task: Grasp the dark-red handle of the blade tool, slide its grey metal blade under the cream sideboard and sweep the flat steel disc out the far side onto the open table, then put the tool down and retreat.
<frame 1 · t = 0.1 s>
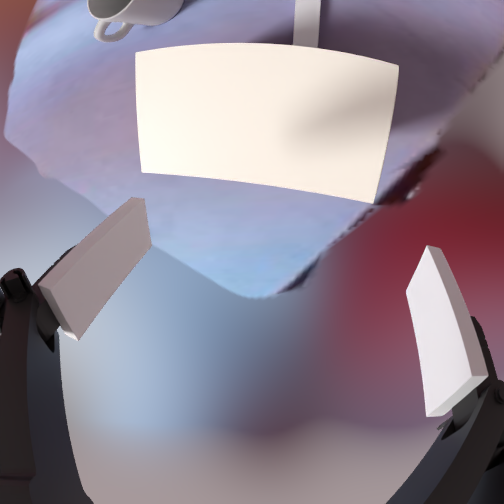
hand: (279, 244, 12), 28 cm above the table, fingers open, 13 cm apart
mug: (152, 10, 27), on the table
cabinet: (286, 95, 33), on the table
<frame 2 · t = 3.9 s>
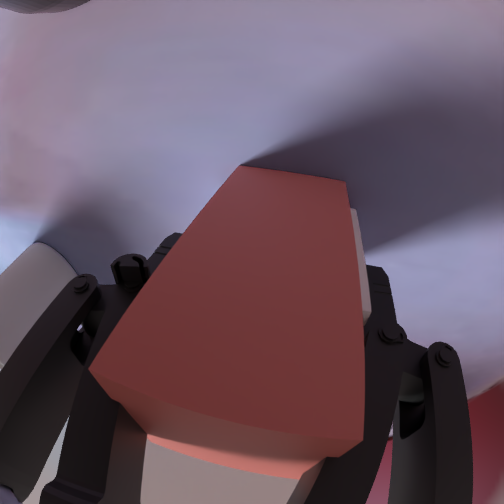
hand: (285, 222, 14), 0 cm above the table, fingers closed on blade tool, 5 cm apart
mug: (56, 283, 24), on the table
blade tool: (286, 219, 14), on the table, touching gripper
cabinet: (239, 409, 29), on the table
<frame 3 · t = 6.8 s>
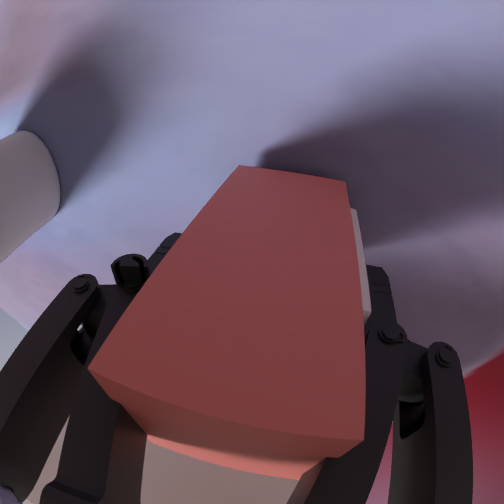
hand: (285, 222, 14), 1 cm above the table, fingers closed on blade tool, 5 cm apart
mug: (30, 189, 19), on the table
blade tool: (286, 219, 14), point 1 cm above the table, touching gripper, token
cabinet: (243, 357, 24), on the table
when the fingers open (0 cm above the table, at t = 11.4 s): blade tool stays where it is, on the table.
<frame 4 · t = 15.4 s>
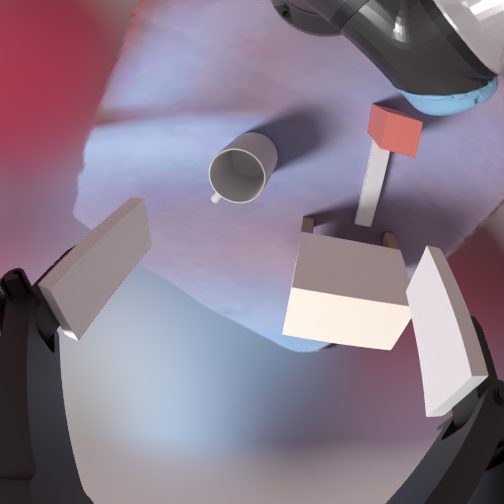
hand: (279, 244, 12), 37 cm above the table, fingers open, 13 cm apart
mug: (247, 161, 48), on the table
blade tool: (384, 121, 38), on the table
cabinet: (344, 246, 54), on the table
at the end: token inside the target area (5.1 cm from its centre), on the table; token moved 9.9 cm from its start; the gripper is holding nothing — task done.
